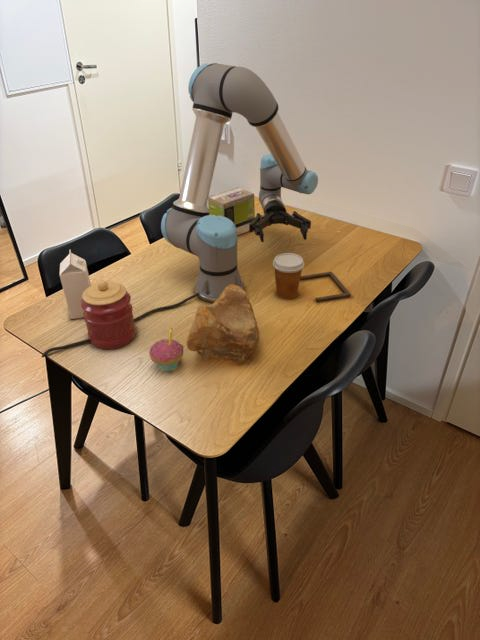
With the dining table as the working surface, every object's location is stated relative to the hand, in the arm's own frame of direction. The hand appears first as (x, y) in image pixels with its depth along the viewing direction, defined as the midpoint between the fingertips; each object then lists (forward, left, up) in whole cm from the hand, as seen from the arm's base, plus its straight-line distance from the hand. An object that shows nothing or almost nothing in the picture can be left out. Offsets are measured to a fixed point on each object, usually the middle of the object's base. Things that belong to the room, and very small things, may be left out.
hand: (284, 236), depth 154 cm
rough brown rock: (-26, -32, -15) cm, 44 cm away
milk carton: (-64, -2, -15) cm, 66 cm away
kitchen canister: (-56, -17, -15) cm, 60 cm away
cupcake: (-43, -34, -15) cm, 57 cm away
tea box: (-7, +40, -15) cm, 43 cm away
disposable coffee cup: (-2, -10, -15) cm, 18 cm away
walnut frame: (+10, -10, -15) cm, 20 cm away
